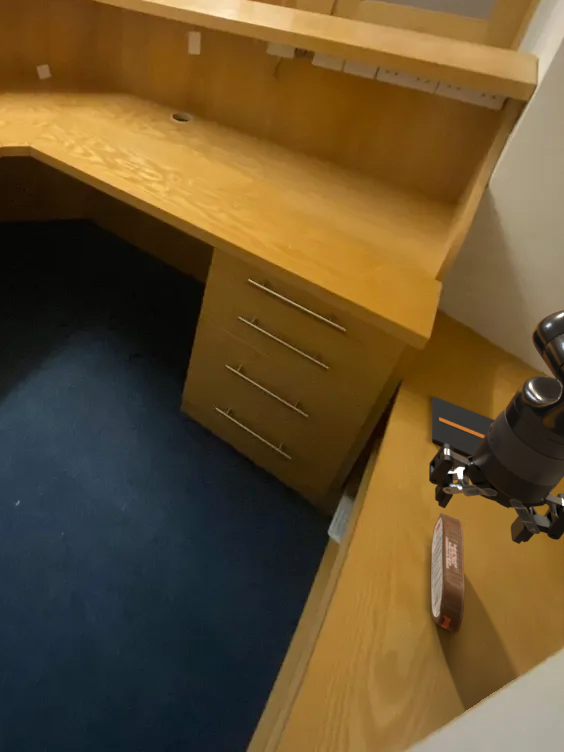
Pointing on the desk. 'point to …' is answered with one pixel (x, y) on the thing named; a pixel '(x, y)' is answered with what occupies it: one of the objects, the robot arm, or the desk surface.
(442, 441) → the mat
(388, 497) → the desk surface
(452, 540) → the tin
